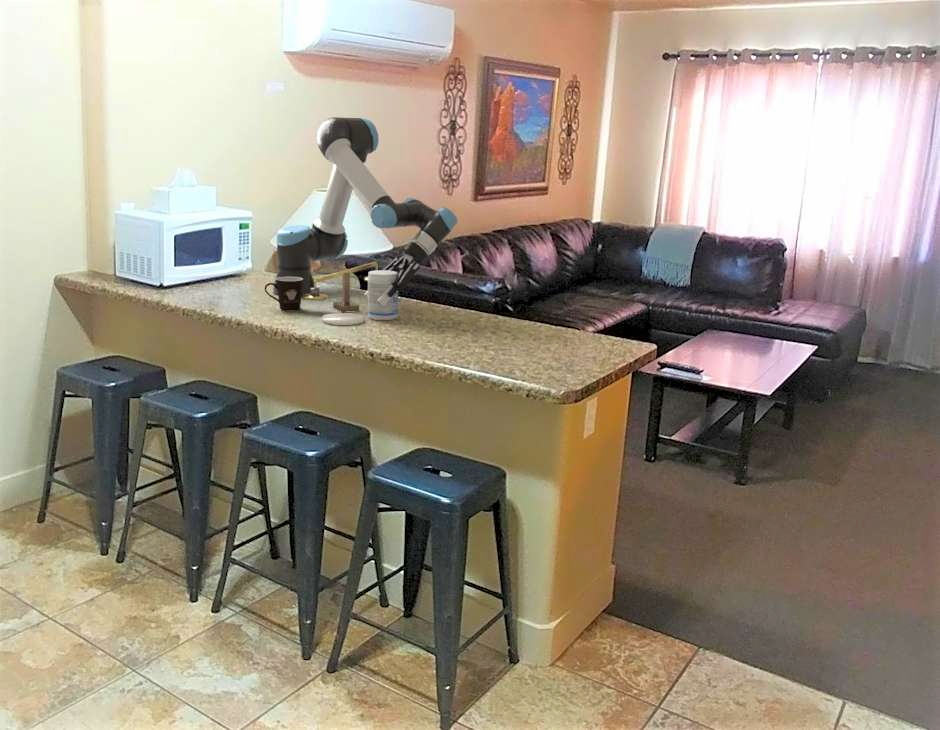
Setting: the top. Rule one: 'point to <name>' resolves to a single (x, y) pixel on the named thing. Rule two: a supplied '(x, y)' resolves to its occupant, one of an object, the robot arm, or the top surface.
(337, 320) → the plate
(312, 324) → the top surface
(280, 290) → the coffee mug
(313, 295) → the balance
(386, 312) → the supplement tub
